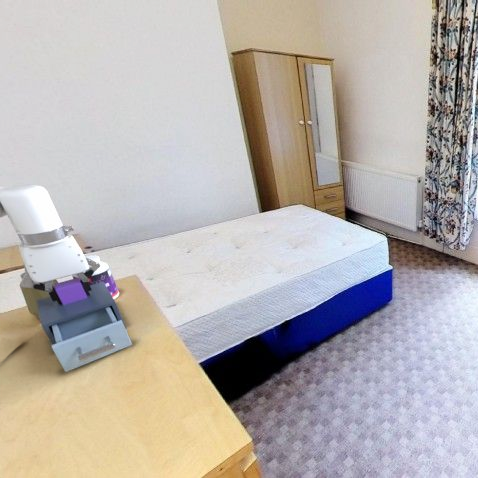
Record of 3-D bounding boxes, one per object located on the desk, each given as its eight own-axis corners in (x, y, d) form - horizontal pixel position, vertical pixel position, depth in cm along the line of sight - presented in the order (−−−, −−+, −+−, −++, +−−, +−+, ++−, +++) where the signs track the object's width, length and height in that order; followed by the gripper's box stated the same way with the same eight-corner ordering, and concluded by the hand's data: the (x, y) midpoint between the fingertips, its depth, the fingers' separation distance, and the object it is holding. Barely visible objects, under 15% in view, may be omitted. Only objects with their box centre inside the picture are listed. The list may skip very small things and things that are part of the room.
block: (87, 298, 87) (80, 283, 85) (63, 305, 83) (55, 290, 81) (84, 291, 89) (78, 277, 87) (61, 298, 86) (53, 284, 84)
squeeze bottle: (46, 309, 96) (17, 256, 88) (81, 304, 98) (56, 252, 91) (26, 326, 89) (-6, 270, 81) (65, 320, 91) (36, 265, 84)
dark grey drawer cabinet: (126, 328, 89) (114, 301, 86) (58, 355, 80) (41, 325, 76) (114, 307, 98) (103, 281, 94) (51, 328, 88) (36, 300, 85)
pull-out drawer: (137, 354, 79) (127, 331, 76) (68, 384, 71) (54, 359, 68) (119, 321, 90) (110, 300, 87) (58, 344, 82) (45, 321, 79)
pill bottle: (84, 310, 96) (63, 268, 90) (87, 298, 101) (68, 258, 96) (120, 301, 101) (103, 260, 95) (120, 289, 106) (104, 251, 100)
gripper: (88, 223, 87) (112, 280, 94) (-12, 241, 75) (25, 306, 82) (93, 230, 83) (118, 290, 90) (-12, 251, 71) (27, 318, 78)
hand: (73, 297), depth 86 cm, fingers closed on block, 4 cm apart
